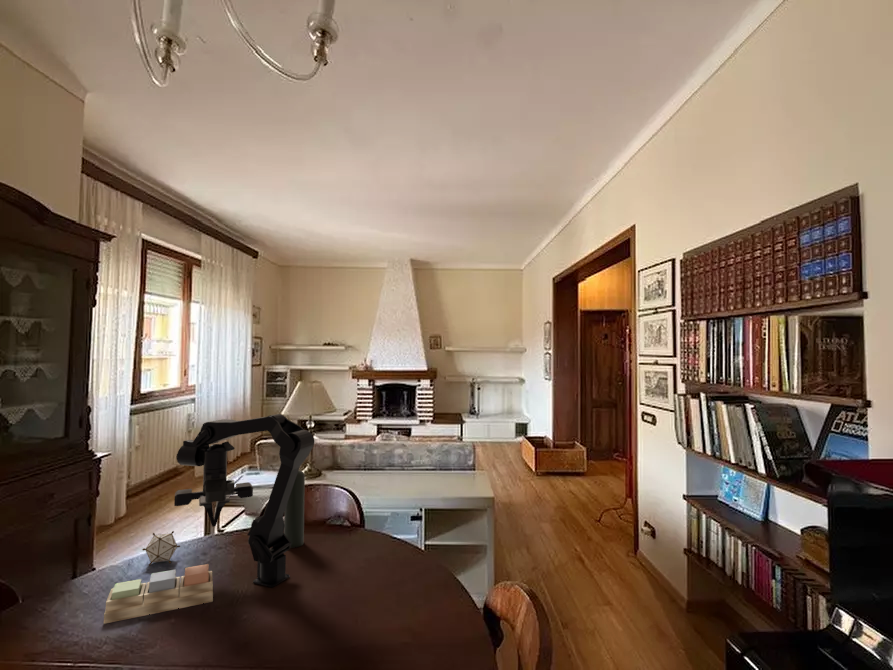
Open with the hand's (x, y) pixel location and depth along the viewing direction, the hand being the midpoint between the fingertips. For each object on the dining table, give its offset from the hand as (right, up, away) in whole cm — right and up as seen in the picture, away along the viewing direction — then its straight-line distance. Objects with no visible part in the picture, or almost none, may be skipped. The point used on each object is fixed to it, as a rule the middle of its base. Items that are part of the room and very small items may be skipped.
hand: (213, 526), depth 128 cm
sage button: (-10, -9, -20) cm, 24 cm away
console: (-4, -11, -17) cm, 21 cm away
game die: (-17, -12, +5) cm, 22 cm away
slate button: (-4, -8, -17) cm, 19 cm away
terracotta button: (+3, -8, -14) cm, 16 cm away
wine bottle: (+16, -13, +18) cm, 27 cm away
